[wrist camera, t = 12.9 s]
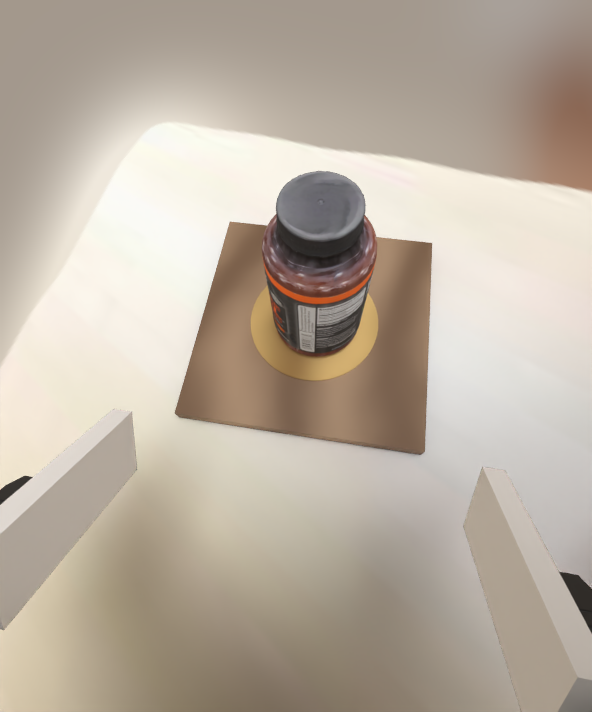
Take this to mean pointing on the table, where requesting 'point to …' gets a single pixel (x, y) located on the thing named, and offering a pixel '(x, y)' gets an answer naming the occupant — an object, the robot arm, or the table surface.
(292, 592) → the table surface
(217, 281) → the walnut board
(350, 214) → the supplement bottle
